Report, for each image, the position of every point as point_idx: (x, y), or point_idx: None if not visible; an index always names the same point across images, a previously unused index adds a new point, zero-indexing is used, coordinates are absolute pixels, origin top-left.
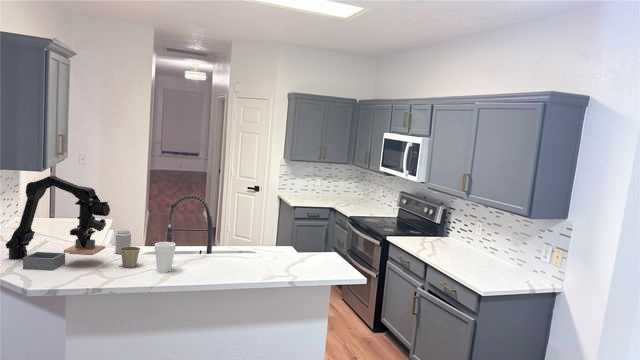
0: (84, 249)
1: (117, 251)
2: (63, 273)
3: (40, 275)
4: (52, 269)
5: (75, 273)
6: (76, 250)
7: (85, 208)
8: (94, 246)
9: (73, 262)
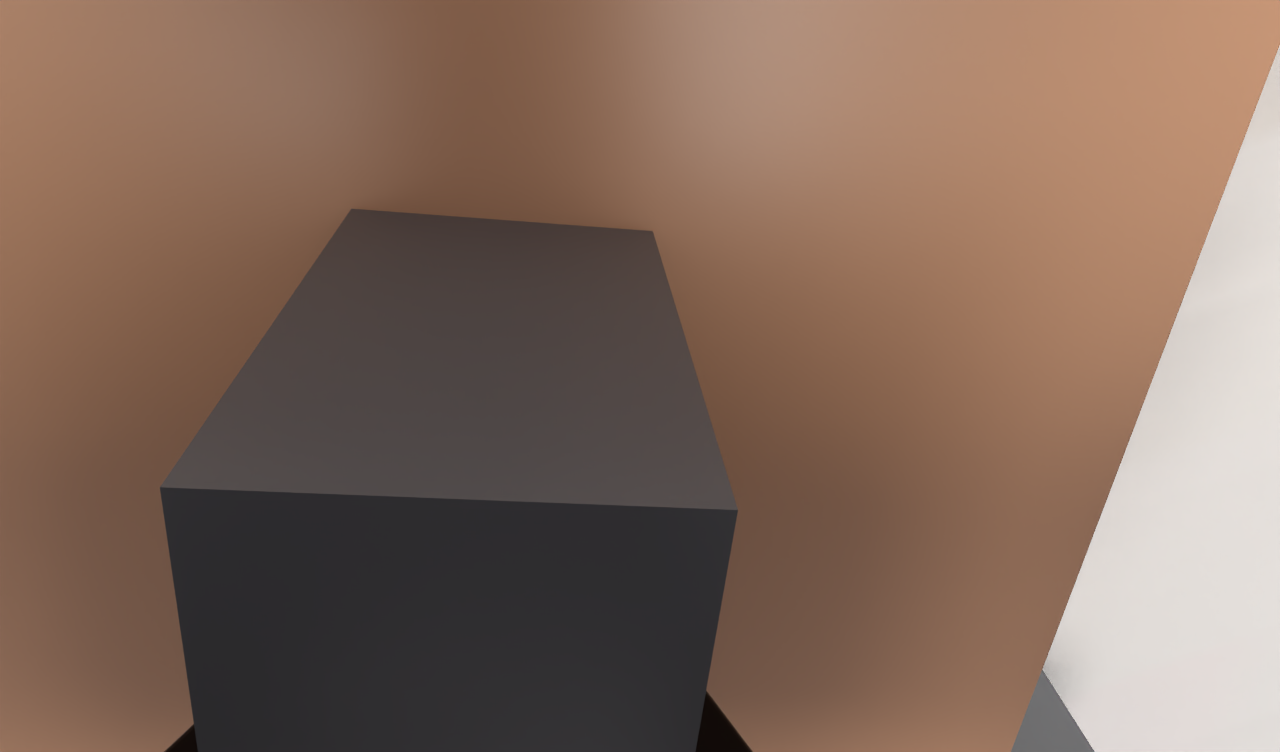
0: (795, 539)
1: None
2: (1154, 472)
3: (1209, 733)
4: (1058, 701)
5: (1202, 253)
6: (975, 727)
7: None
8: (396, 242)
9: None
